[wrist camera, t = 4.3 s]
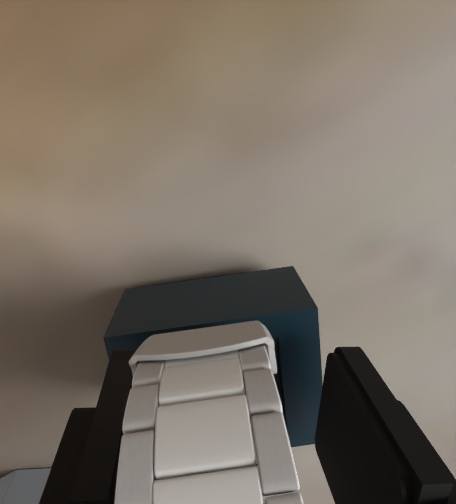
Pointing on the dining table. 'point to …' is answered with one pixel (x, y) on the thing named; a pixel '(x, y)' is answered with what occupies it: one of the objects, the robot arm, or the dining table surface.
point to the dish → (23, 486)
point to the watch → (217, 388)
